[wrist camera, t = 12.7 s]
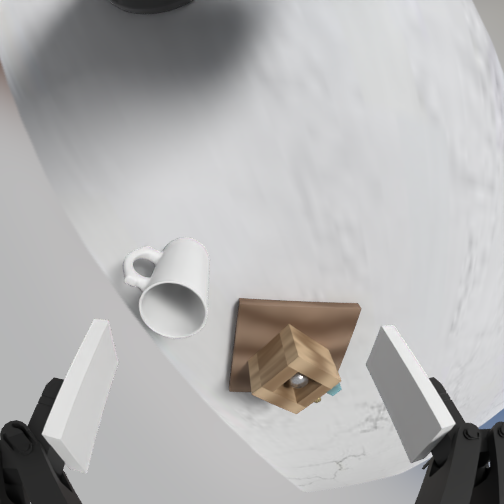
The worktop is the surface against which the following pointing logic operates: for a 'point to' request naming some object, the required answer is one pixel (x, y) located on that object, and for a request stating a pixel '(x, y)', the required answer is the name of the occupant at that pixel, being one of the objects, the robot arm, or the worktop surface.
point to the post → (299, 380)
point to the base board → (277, 318)
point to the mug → (172, 287)
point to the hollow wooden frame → (292, 371)
